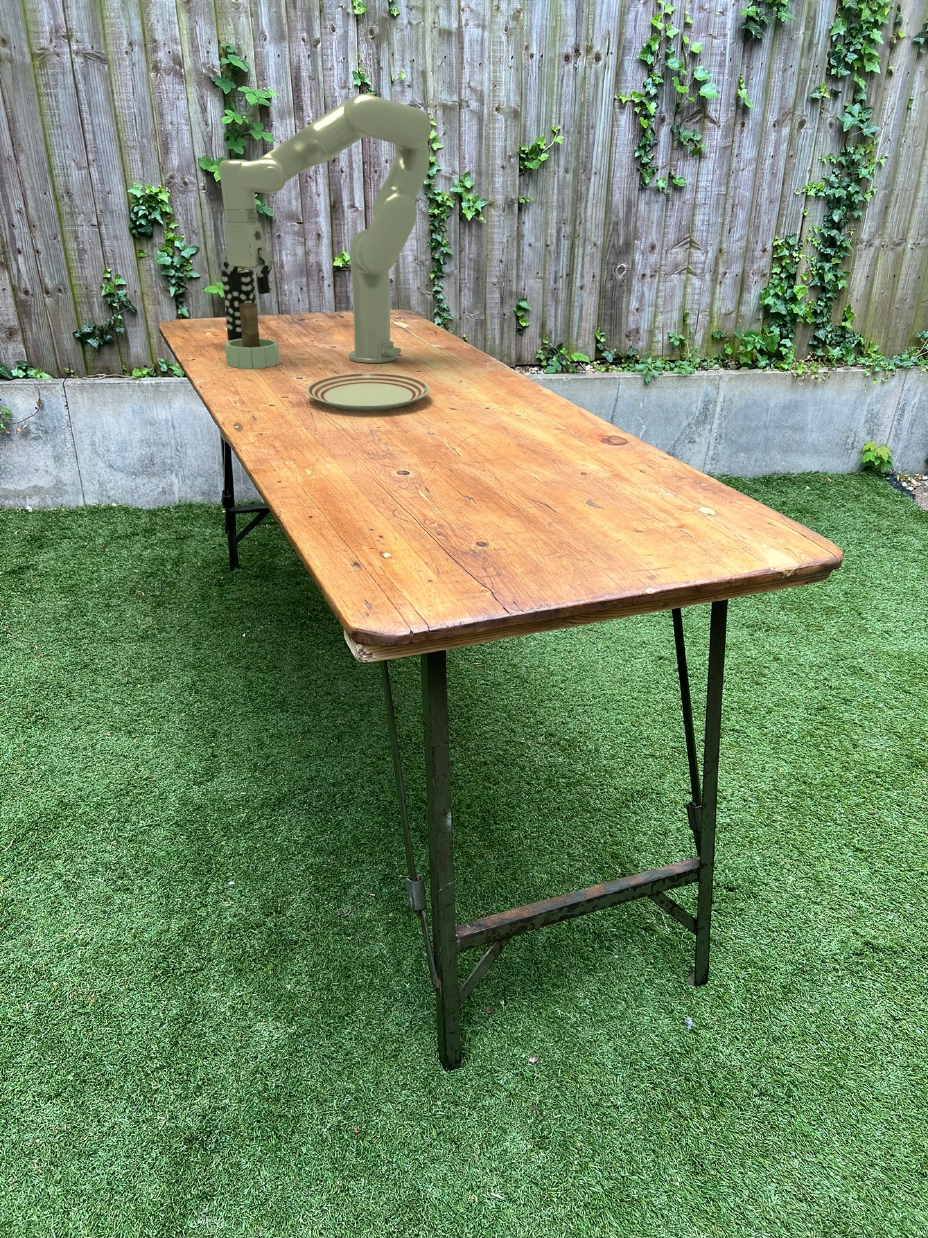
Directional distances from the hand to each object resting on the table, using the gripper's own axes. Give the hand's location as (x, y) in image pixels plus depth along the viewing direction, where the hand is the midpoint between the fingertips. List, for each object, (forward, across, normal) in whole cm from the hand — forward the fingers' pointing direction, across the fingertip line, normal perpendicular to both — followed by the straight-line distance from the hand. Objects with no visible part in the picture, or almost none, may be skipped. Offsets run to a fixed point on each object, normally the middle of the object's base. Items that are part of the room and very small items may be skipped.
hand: (250, 291), depth 226 cm
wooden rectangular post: (+17, +1, +1) cm, 17 cm away
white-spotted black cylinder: (+18, +17, -11) cm, 27 cm away
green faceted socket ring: (+17, +1, +1) cm, 17 cm away
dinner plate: (+19, -46, +11) cm, 51 cm away
